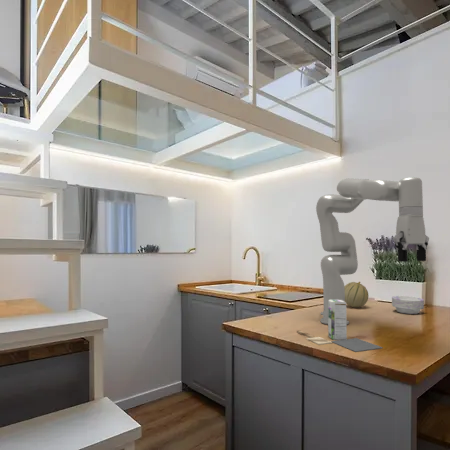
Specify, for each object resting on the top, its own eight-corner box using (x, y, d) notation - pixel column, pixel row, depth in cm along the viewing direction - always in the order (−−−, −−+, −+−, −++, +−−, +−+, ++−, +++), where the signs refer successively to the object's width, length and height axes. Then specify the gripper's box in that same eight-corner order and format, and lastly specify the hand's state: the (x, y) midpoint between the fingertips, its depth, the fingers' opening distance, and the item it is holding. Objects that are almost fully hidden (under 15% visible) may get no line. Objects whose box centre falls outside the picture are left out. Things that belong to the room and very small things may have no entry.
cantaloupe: (337, 305, 206) (337, 280, 207) (360, 304, 208) (360, 280, 209) (348, 310, 191) (348, 283, 192) (373, 309, 193) (373, 282, 194)
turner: (292, 333, 142) (292, 331, 142) (304, 331, 144) (304, 329, 144) (318, 344, 125) (318, 342, 125) (332, 343, 127) (332, 341, 127)
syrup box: (327, 336, 137) (327, 299, 138) (342, 336, 137) (342, 299, 138) (332, 340, 131) (331, 301, 132) (347, 340, 131) (346, 301, 132)
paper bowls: (430, 315, 177) (429, 299, 178) (400, 315, 177) (400, 299, 178) (414, 309, 192) (414, 295, 193) (387, 309, 193) (386, 295, 193)
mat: (330, 341, 129) (330, 341, 129) (356, 338, 133) (356, 338, 133) (355, 352, 117) (355, 351, 117) (382, 348, 121) (382, 347, 121)
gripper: (417, 214, 129) (418, 260, 128) (384, 212, 122) (385, 261, 121) (436, 212, 122) (438, 261, 121) (403, 210, 115) (405, 262, 114)
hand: (412, 261), depth 121 cm, fingers open, 9 cm apart
